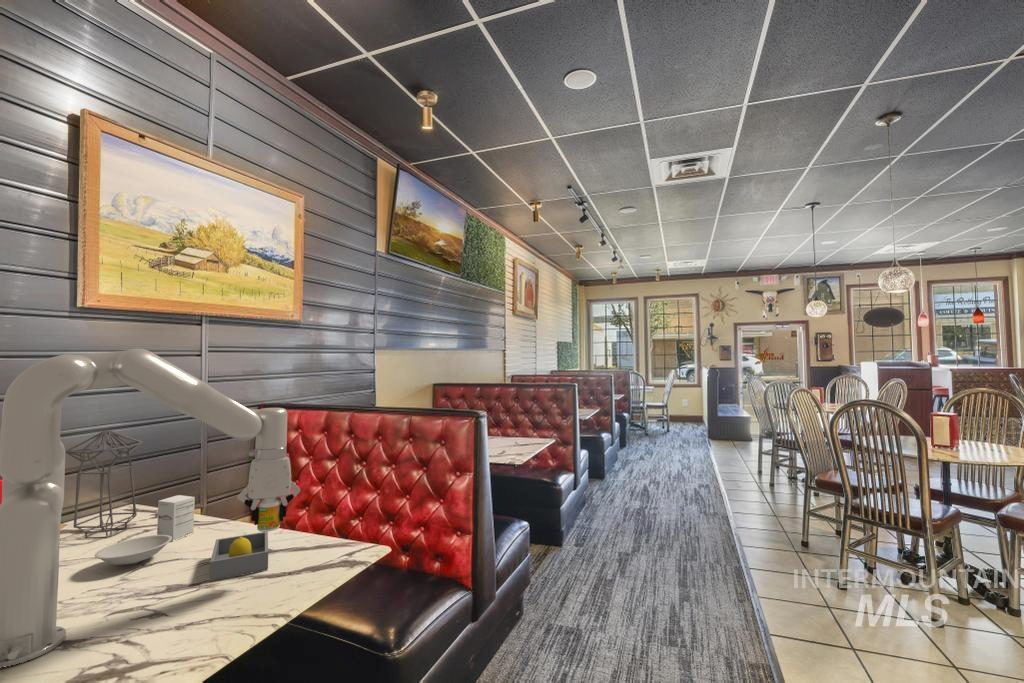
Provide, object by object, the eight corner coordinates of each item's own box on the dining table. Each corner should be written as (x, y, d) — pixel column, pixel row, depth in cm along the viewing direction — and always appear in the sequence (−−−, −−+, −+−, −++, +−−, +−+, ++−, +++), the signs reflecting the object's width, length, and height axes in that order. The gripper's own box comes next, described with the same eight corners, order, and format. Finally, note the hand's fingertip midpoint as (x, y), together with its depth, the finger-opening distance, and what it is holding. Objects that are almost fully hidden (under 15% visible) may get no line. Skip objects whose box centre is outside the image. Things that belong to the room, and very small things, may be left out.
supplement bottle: (254, 533, 119) (255, 495, 119) (260, 526, 124) (261, 490, 125) (277, 531, 120) (278, 494, 121) (281, 524, 125) (282, 488, 126)
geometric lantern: (107, 543, 146) (107, 433, 147) (59, 543, 146) (60, 435, 148) (147, 524, 162) (147, 426, 163) (104, 525, 162) (105, 427, 163)
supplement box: (155, 539, 149) (157, 500, 149) (178, 531, 156) (179, 494, 156) (172, 542, 147) (173, 502, 147) (194, 533, 154) (195, 496, 154)
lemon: (245, 570, 125) (246, 540, 125) (224, 570, 124) (225, 541, 125) (254, 560, 130) (255, 532, 131) (234, 561, 130) (235, 533, 130)
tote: (267, 569, 127) (268, 551, 127) (209, 581, 120) (210, 562, 120) (267, 547, 142) (267, 531, 142) (215, 556, 136) (216, 539, 136)
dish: (158, 547, 142) (158, 531, 143) (181, 557, 135) (182, 540, 136) (84, 569, 127) (85, 551, 127) (106, 581, 120) (107, 562, 120)
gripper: (233, 459, 116) (230, 531, 115) (306, 453, 124) (304, 520, 123) (234, 454, 122) (232, 522, 121) (304, 448, 131) (302, 512, 130)
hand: (268, 521), depth 122 cm, fingers closed on supplement bottle, 5 cm apart
